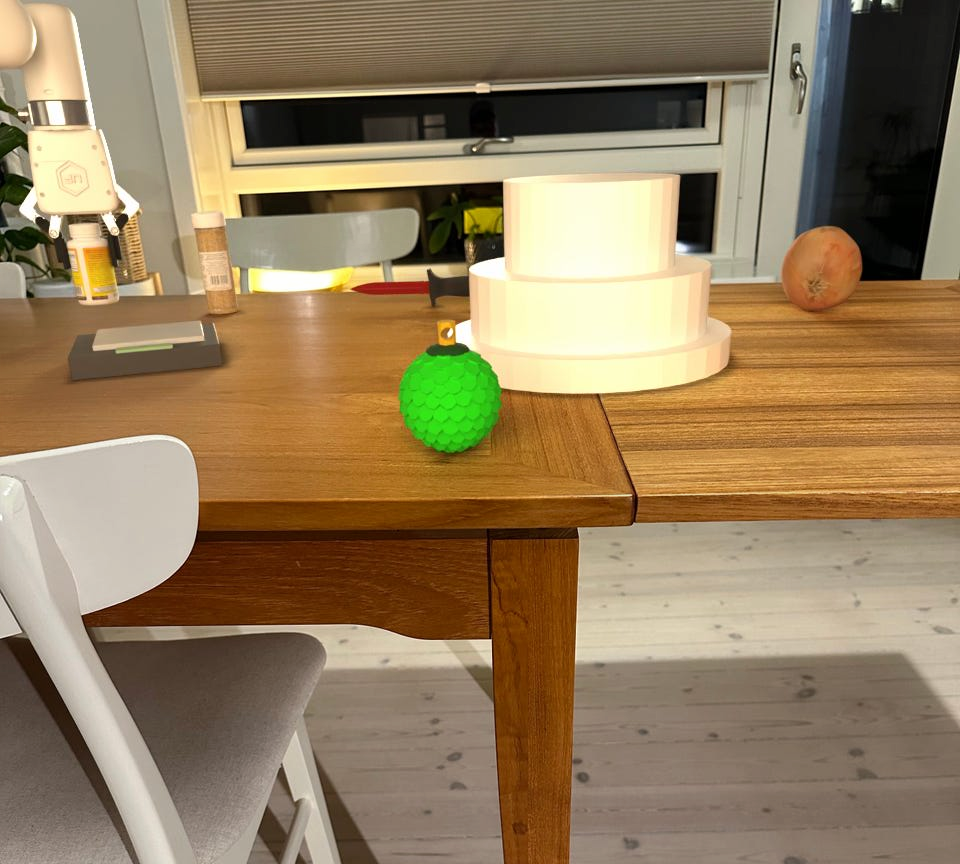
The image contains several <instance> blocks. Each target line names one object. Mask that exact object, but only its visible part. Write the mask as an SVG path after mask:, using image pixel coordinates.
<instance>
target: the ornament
mask: <svg viewBox="0 0 960 864" xmlns="http://www.w3.org/2000/svg"><path fill="white" fill-rule="evenodd" d="M436 324H437V335H438V342H437V343H433V344H431V345H429V346H428V347H427V348H425V351H423V353H421V354H419V355H417V357H415V358H414V359H413V360H412V361H411V364H410V365H408V366H407V367H406V370H404V372H403V374H402V379H401V380H400V384H399V386H398V390H399V393H398V395H397V398H398V402H399V413H400V414H402V416H403V421H404V425H405V428H407V429H410V430H411V433H412V435H413V437H414V438H415V439H416V440H419V439H420V440H421V442H422V444H423V445H424V446H426V447H429V448H431V447H432V448H433V449H434V450H435V451H438V452H442V451H443V452H445V453H455V452H459V453H460V452H461V453H462V452H463V451H466V450H468V449H469V448H470V447H471V448H472V447H475V446H477V445H478V444H480V443H481V442H482V440H483V438H487V437H488V436H489V435H490V434H491V433H492V432H493V428H494V426H495V425H497V423H498V420H500V419H499V418H500V417H499V410H502V409H503V402H502V398H501V394H502V393H503V390H502V389H503V388H501V387H500V385H499V383H498V382H499V380H498V376H497V374H496V373H495V372H494V371H493V370H492V366H491V365H490V363H488V362H487V361H486V360H484V359H483V358H481V355H480V354H479V353H477V352H475V351H472V350H470V349H469V347H468V346H467V345H465V344H463V343H458V342H456V325H457V324H456V320H454V319H440V320H437V321H436ZM446 328H449V329H451V328H452V330H453V333H452V335H451V336H450V337H448V336H447V337H443V336H442V335H441V334H442V331H443V330H444V329H446Z"/></svg>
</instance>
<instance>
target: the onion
mask: <svg viewBox="0 0 960 864" xmlns="http://www.w3.org/2000/svg"><path fill="white" fill-rule="evenodd" d="M862 258H863V257H862V254H861V250H860V247H859V245H858V243H857V242H856V241H855V240H854V239H853V238H852V237H851V236H850V235H849V234H848V233H847V232H846V231H845V230H843V229H842V228H841V227H838V226H833V225H824V226H819V227H815V228H812V229H809V230H807V231H804V232H803V233H801V234H800V235H798V236H797V237H796V239H794V240H793V242H792V243H791V245H790V247H789V248H788V250H787V251H786V253H785V255H784V257H783V261H782V264H781V270H780V281H781V285H782V290H783V291H784V294H785V296H786V297H787V298H788V300H789V301H790V302H792V304H794V306H796V307H799V308H800V309H801V310H803V311H809V312H810V311H811V312H813V311H821V310H827V309H831V308H836V307H838V306H840V305H843V304H844V303H845V302H846V301H847V300H849V298H850V297H851V296H852V295H853V294H855V291H856V290H857V288H858V286H859V285H860V280H861V277H862V272H863V259H862Z"/></svg>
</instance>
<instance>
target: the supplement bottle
mask: <svg viewBox="0 0 960 864" xmlns="http://www.w3.org/2000/svg"><path fill="white" fill-rule="evenodd" d="M68 230H69V237H70V238H71V239H69V240H68V241H67V243H66V248H67V252H68V257H69V262H70V267H71V268H70V271H71V276H72V280H73V285H74V290H75V295H76V299H77V302H78V303H79V305H82V306H88V307H89V306H105V305H112V304H115V303H118V302H119V300H120V294H119V288H118V284H117V279H116V278H117V277H116V272H115V267H114V266H112V261H111V256H110V250H109V245H108V240H107V239H106V238H103V237H101V236H102V231H101V226H100V223H97V222H87V223H85V222H84V223H83V222H82V223H72V224H69V225H68Z"/></svg>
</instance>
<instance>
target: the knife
mask: <svg viewBox="0 0 960 864" xmlns="http://www.w3.org/2000/svg"><path fill="white" fill-rule="evenodd" d="M426 275H427V280H412V281H408V280H407V281H376V282H367V283H363V284H358V285H356V286H354V287H351V288H350V289H349V290H350V291H353V292H356V293H359V294H364V295H371V296H388V295H391V296H392V295H395V296H396V295H425V294H426V295H429V299H430V304H431V307H434V306H435V305H436V304H437V303H436V301H437V299H438V298H441V297H465V298H467V297H468V298H470V286H469V275H461V276H460V275H459V276H450V277H449V276H448V277H442V276H438V275H437V274H436V273H434V272H433V270H432V268H427V269H426Z"/></svg>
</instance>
